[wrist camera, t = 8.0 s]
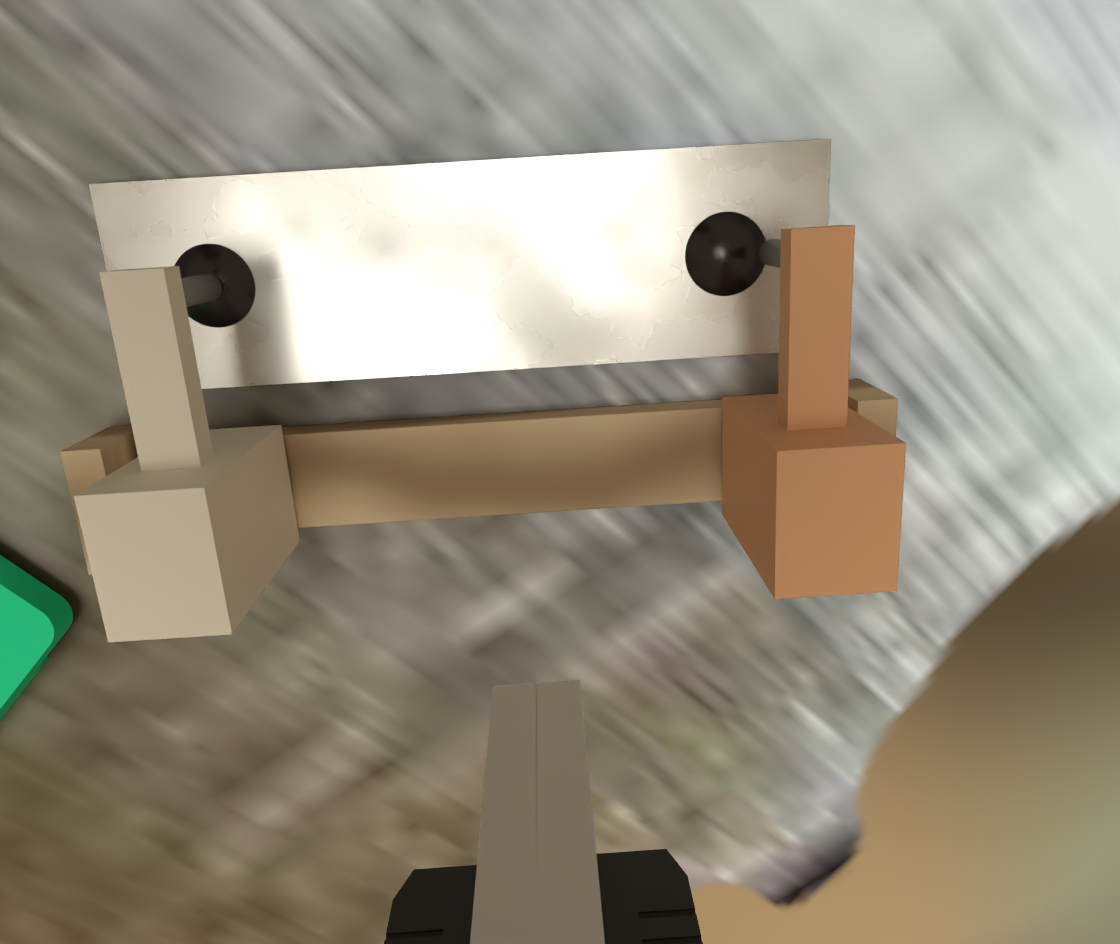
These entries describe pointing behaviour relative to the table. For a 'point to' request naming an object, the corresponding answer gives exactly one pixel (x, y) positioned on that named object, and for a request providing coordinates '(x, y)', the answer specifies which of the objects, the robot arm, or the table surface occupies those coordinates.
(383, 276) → the hole plate
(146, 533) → the fixed leg
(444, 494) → the rail
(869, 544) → the slider leg
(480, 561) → the table surface
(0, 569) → the camera mount
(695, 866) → the table surface
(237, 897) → the table surface
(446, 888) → the robot arm
